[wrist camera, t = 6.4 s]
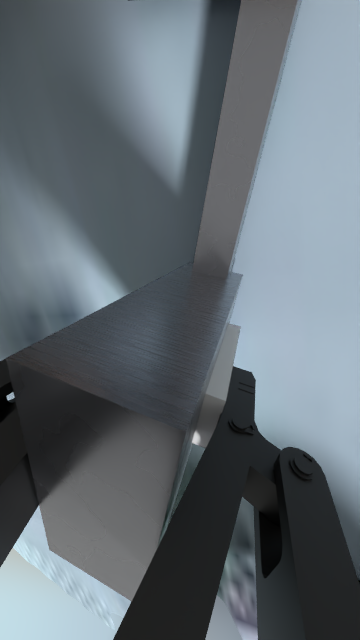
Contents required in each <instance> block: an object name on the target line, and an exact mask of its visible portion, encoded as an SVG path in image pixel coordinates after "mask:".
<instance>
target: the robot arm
mask: <svg viewBox="0 0 360 640" xmlns="http://www.w3.org/2000/svg"><path fill="white" fill-rule="evenodd" d="M239 333H240V326H236V325H233V324H228V327H227V330H226V333H225V336H224V339H223V342H222V345H221V348H220V351H219V354H218V357H217V360H216V363H215V366H214V370H213V373H212V376H211V379H210V382H209V385H208V388H207V391H206V394H205V398H204V401H203V405H202V409H201V412H200V416H199V419H198V423H197V427H196V430H195V434H194V437H193V441H192V443H194V444H197V445H199V446H201V447H204V448H206V449H205V451H204V453H203V455H202V457H201V459H200V461H199V463H198V465H197V467H196V469H195V472H194V474H193V476H192V478H191V480H190V482H189V484H188V486H187V488H186V490H185V492H184V494H183V496H182V498H181V500H180V503H179V505H178V507H177V509H176V511H175V513H174V515H173V517H172V519H171V521H170V523H169V525H168V527H167V529H166V531H165V534H164V536H163V538H162V540H161V542H160V544H159V546H158V548H157V550H156V552H155V554H154V556H153V558H152V560H151V562H150V565H149V567H148V569H147V571H146V573H145V575H144V577H143V579H142V581H141V583H140V585H139V587H138V589H137V591H136V594H135V596H134V598H133V600H132V602H131V604H130V606H129V608H128V610H127V612H126V614H125V616H124V618H123V620H122V622H121V625H120V627H119V629H118V631H117V633H116V635H115V637H114V639H113V640H205V638H206V634H207V630H208V627H209V623H210V619H211V615H212V611H213V607H214V603H215V599H216V595H217V592H218V588H219V584H220V580H221V576H222V572H223V568H224V564H225V560H226V557H227V553H228V549H229V545H230V541H231V537H232V533H233V529H234V525H235V522H236V518H237V514H238V510H239V506H240V502H241V498H242V497H244V498H245V499H246V500H247V501H248V502H249V503H251V504H252V505H253V506H254V529H255V561H256V592H257V624H258V640H360V583H359V582H358V578H357V575H356V572H355V569H354V566H353V563H352V560H351V556H350V553H349V550H348V547H347V544H346V541H345V537H344V534H343V531H342V528H341V525H340V522H339V518H338V515H337V512H336V509H335V506H334V503H333V500H332V496H331V493H330V490H329V487H328V484H327V481H326V477H325V475H324V473H323V471H322V469H321V467H320V466H319V464H318V463H317V462H316V461H315V460H314V458H312V457H311V456H310V455H309V454H307V453H306V452H304V451H302V450H300V449H298V448H293V447H287V448H284V449H283V450H282V451H281V450H280V449H279V448H277V447H276V446H274V445H273V444H271V443H270V442H268V441H267V440H266V439H265V438H264V437H263V436H262V435H261V434H260V433H259V431H258V428H257V426H256V424H255V421H254V412H255V382H256V380H255V378H254V376H253V374H252V372H249V371H246V370H243V369H240V368H237V367H234V366H233V363H234V358H235V353H236V348H237V343H238V338H239ZM12 392H13V388H12V383H11V379H10V374H9V370H8V366H7V361H6V359H4V360H2V361H0V567H1V565H2V564H3V562H4V561H5V559H6V557H7V556H8V554H9V552H10V551H11V549H12V548H13V546H14V544H15V543H16V541H17V539H18V538H19V536H20V535H21V533H22V531H23V530H24V528H25V527H26V525H27V523H28V522H29V520H30V518H31V517H32V515H33V514H34V512H35V510H36V509H37V507H38V505H39V502H38V497H37V493H36V488H35V484H34V480H33V475H32V471H31V466H30V462H29V458H28V453H27V449H26V445H25V440H24V436H23V431H22V427H21V423H20V418H19V414H18V409H17V405H16V401H15V398H14V399H12V400H9V401H8V400H7V397H6V396H7V395H9V394H10V393H12Z"/></svg>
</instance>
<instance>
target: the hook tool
mask: <svg viewBox="0 0 360 640" xmlns="http://www.w3.org/2000/svg"><path fill="white" fill-rule="evenodd" d="M128 1H131V0H128ZM301 1H302V0H241V4H240V10H239V15H238V21H237V26H236V32H235V37H234V43H233V48H232V54H231V59H230V65H229V70H228V76H227V81H226V87H225V92H224V98H223V103H222V109H221V114H220V120H219V125H218V131H217V136H216V142H215V147H214V153H213V158H212V164H211V169H210V175H209V180H208V186H207V191H206V197H205V202H204V208H203V213H202V219H201V224H200V230H199V235H198V241H197V246H196V252H195V257H194V263H188V264H186V265H184V266H182V267H180V268H178V269H176V270H174V271H172V272H170V273H168V274H167V275H165V276H163V277H161V278H159V279H157V280H155V281H153V282H151V283H149V284H147V285H146V286H144V287H142V288H140V289H138V290H136V291H134V292H132V293H130V294H128V295H126V296H124V297H123V298H121V299H119V300H117V301H115V302H113V303H111V304H109V305H107V306H105V307H103V308H101V309H100V310H98V311H96V312H94V313H92V314H90V315H88V316H86V317H84V318H82V319H80V320H79V321H77V322H75V323H73V324H71V325H69V326H67V327H65V328H63V329H61V330H59V331H57V332H56V333H54V334H52V335H50V336H48V337H46V338H44V339H42V340H40V341H38V342H36V343H34V344H33V345H31V346H29V347H27V348H25V349H23V350H21V351H19V352H17V353H15V354H13V355H12V356H10V357H8V358H6V361H7V366H8V370H9V374H10V379H11V383H12V388H13V392H14V396H15V401H16V405H17V409H18V414H19V418H20V423H21V427H22V431H23V436H24V440H25V445H26V449H27V453H28V458H29V462H30V466H31V471H32V475H33V480H34V484H35V488H36V493H37V497H38V502H39V506H40V510H41V515H42V519H43V523H44V528H45V532H46V537H47V541H48V545H49V550H51V551H52V552H54V553H55V554H57V555H59V556H60V557H62V558H63V559H65V560H67V561H68V562H70V563H71V564H73V565H75V566H76V567H78V568H79V569H81V570H83V571H84V572H86V573H87V574H89V575H91V576H92V577H94V578H95V579H97V580H98V581H100V582H102V583H103V584H105V585H106V586H108V587H110V588H111V589H113V590H114V591H116V592H118V593H119V594H121V595H122V596H124V597H126V598H127V599H129V600H130V601H132V600H133V598H134V596H135V594H136V591H137V589H138V587H139V585H140V583H141V581H142V579H143V577H144V575H145V573H146V571H147V569H148V567H149V565H150V562H151V560H152V558H153V556H154V554H155V552H156V550H157V548H158V546H159V544H160V542H161V540H162V538H163V536H164V534H165V531H166V529H167V526H168V522H169V519H170V516H171V513H172V510H173V506H174V503H175V500H176V497H177V493H178V490H179V487H180V484H181V481H182V477H183V474H184V471H185V468H186V464H187V461H188V458H189V455H190V451H191V448H192V445H193V443H192V441H193V437H194V434H195V430H196V427H197V423H198V419H199V416H200V412H201V409H202V405H203V401H204V398H205V394H206V391H207V388H208V385H209V382H210V379H211V376H212V373H213V370H214V366H215V363H216V360H217V357H218V354H219V351H220V348H221V345H222V342H223V339H224V336H225V333H226V330H227V327H228V324H229V321H230V318H231V314H232V311H233V307H234V304H235V300H236V297H237V293H238V290H239V286H240V283H241V279H242V276H243V275H242V274H237V273H233V272H231V270H232V266H233V262H234V258H235V254H236V250H237V247H238V243H239V239H240V235H241V231H242V227H243V224H244V220H245V216H246V212H247V208H248V204H249V200H250V197H251V193H252V189H253V185H254V181H255V177H256V174H257V170H258V166H259V162H260V158H261V154H262V150H263V147H264V143H265V139H266V135H267V131H268V127H269V124H270V120H271V116H272V112H273V108H274V104H275V100H276V97H277V93H278V89H279V85H280V81H281V77H282V74H283V70H284V66H285V62H286V58H287V54H288V51H289V47H290V43H291V39H292V35H293V31H294V27H295V24H296V20H297V16H298V12H299V8H300V4H301Z"/></svg>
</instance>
